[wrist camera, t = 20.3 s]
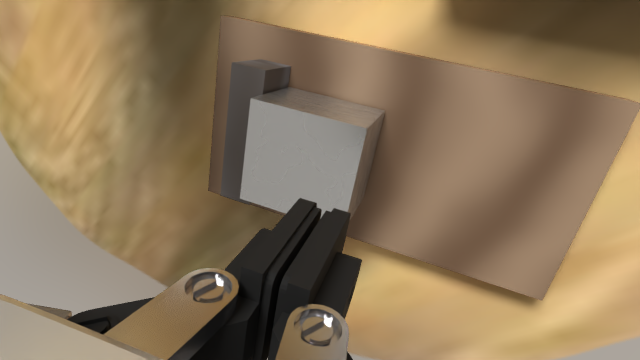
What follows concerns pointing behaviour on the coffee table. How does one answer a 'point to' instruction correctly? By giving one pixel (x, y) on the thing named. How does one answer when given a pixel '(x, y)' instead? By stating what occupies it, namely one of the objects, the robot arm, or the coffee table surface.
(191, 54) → the coffee table surface
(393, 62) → the slide board
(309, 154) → the grey cube block
